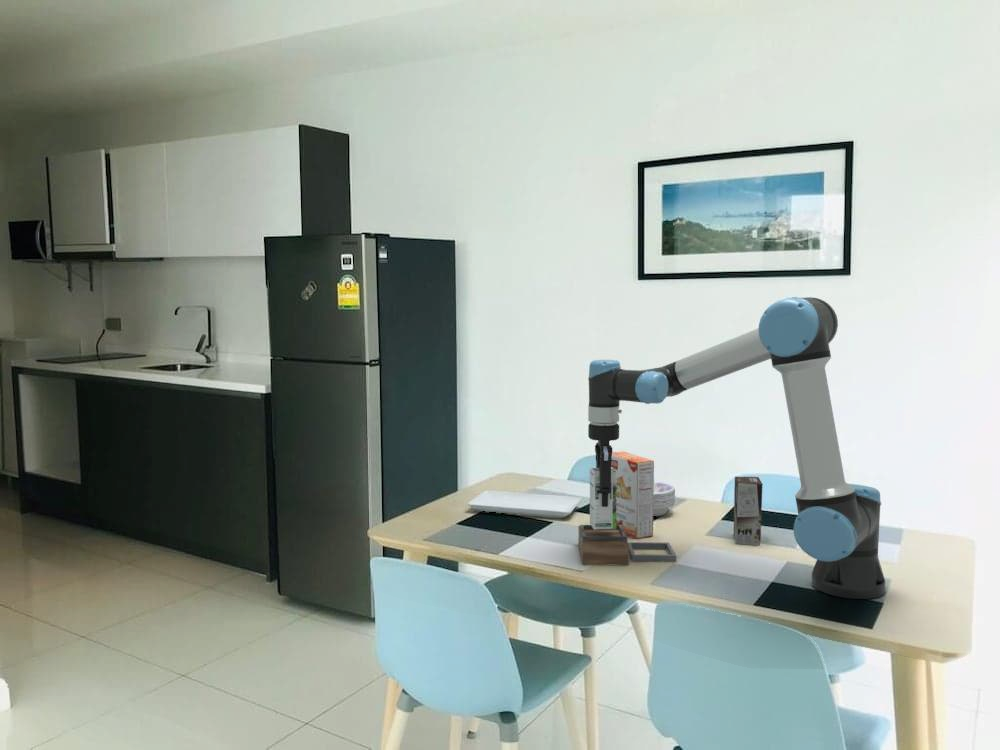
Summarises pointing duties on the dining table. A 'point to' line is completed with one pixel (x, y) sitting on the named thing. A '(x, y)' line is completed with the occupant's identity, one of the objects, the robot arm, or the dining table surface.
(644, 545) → the low socket
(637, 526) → the cracker box
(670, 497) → the paper bowls
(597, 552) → the raised socket stand
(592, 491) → the syrup box
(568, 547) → the dining table surface
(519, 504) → the tray
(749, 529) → the coffee box
